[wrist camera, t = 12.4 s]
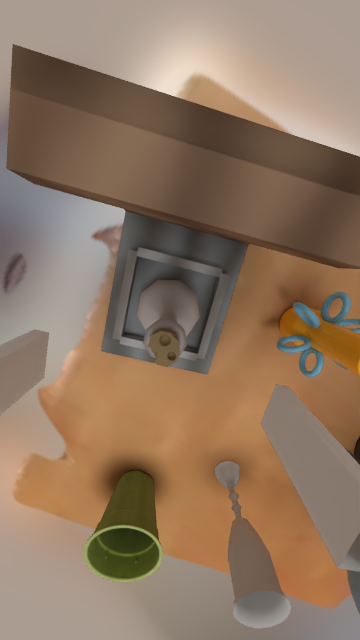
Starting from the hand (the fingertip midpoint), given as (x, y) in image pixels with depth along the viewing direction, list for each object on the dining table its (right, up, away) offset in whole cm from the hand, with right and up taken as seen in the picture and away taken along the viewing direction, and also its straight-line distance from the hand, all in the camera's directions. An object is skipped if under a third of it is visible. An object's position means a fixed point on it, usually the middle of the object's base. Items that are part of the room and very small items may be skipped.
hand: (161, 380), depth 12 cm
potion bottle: (-1, +6, +22) cm, 22 cm away
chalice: (+10, -27, +31) cm, 42 cm away
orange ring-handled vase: (+20, +3, +24) cm, 31 cm away
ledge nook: (0, +7, +22) cm, 23 cm away
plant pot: (-8, -29, +32) cm, 44 cm away
